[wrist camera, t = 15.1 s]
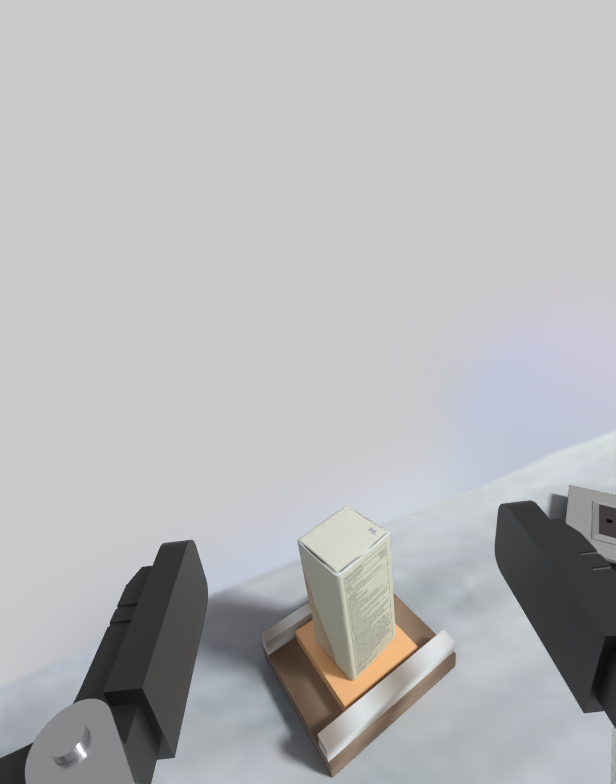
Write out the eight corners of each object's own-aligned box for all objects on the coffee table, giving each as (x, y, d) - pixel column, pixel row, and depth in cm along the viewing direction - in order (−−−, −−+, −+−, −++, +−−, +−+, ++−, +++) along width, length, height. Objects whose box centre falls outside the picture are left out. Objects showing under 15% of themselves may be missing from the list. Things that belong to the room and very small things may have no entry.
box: (359, 603, 35) (349, 501, 30) (398, 637, 32) (393, 529, 27) (312, 644, 32) (294, 538, 28) (350, 686, 29) (337, 574, 24)
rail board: (332, 777, 26) (327, 752, 25) (265, 655, 34) (259, 631, 33) (455, 665, 32) (456, 641, 31) (372, 582, 40) (370, 560, 39)
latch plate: (346, 716, 28) (344, 706, 28) (297, 640, 34) (295, 631, 33) (417, 656, 31) (417, 646, 31) (361, 596, 37) (361, 586, 36)
